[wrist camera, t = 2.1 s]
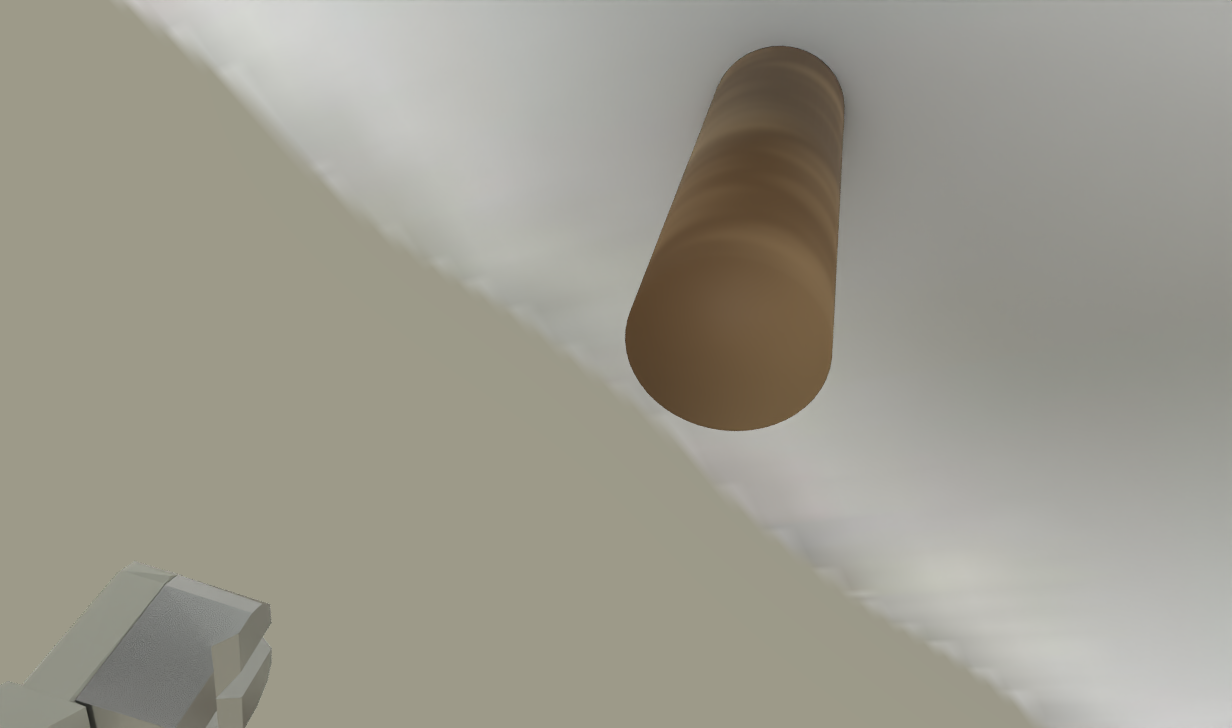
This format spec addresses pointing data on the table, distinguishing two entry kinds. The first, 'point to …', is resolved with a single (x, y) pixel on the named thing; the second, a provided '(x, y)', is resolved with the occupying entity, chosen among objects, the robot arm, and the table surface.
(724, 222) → the peg
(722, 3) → the table surface
